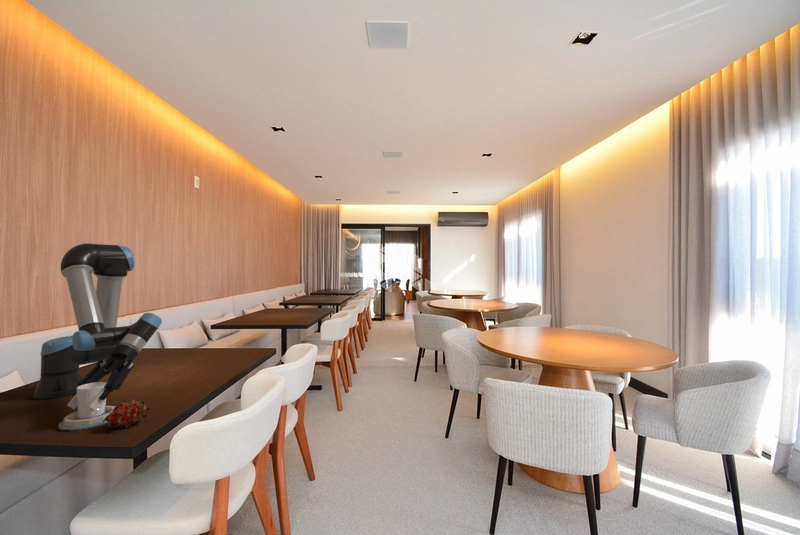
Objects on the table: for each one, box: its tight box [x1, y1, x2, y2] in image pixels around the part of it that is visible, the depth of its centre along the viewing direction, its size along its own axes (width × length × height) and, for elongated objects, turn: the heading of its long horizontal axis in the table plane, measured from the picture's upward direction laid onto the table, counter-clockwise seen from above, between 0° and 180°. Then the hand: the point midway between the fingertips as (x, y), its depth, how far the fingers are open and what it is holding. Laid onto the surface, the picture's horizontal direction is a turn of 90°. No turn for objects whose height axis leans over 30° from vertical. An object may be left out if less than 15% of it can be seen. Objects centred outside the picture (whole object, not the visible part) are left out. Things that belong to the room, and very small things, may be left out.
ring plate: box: [58, 405, 117, 432], centre depth 117 cm, size 16×16×2 cm
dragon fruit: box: [103, 399, 150, 428], centre depth 113 cm, size 8×8×12 cm
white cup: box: [76, 381, 108, 419], centre depth 117 cm, size 8×8×10 cm
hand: (81, 407), depth 113 cm, fingers closed on white cup, 8 cm apart
